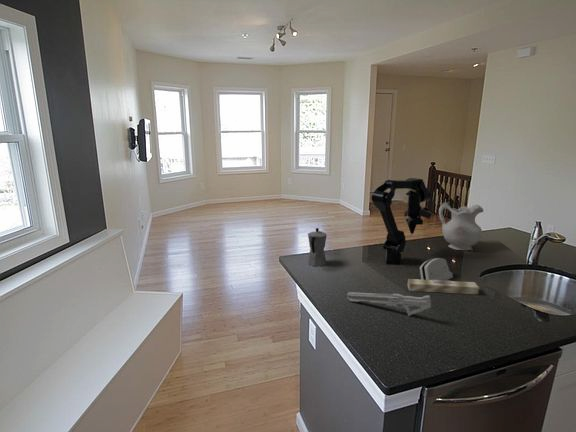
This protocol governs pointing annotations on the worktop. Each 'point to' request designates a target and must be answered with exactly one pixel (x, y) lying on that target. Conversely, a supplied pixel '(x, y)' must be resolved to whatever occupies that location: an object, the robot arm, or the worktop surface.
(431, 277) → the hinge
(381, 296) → the gun
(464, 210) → the ceramic pitcher
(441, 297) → the worktop surface
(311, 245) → the coffeepot
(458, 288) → the beige wooden bar
